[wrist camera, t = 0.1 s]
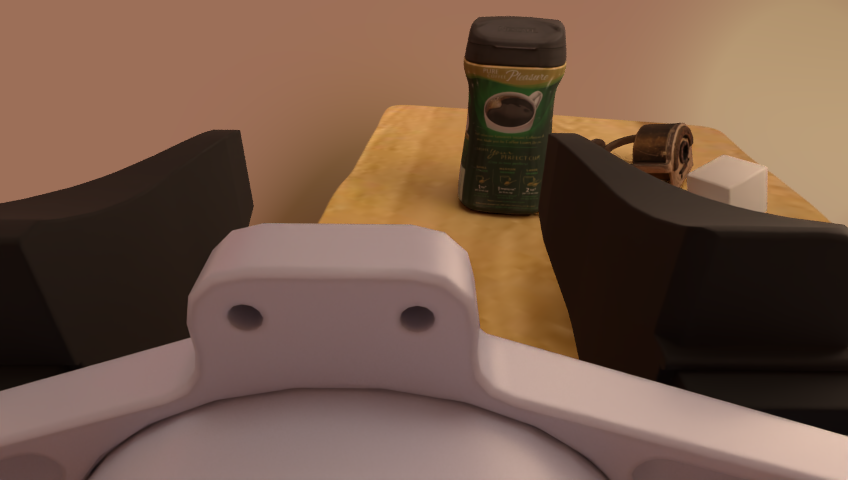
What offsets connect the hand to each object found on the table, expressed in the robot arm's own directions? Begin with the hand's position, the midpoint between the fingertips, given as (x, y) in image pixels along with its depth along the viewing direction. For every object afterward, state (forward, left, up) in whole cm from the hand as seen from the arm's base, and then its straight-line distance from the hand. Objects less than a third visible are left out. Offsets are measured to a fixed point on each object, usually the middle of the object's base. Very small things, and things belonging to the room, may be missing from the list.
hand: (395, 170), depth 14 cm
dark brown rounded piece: (+51, -27, -22) cm, 62 cm away
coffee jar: (+43, -10, -22) cm, 49 cm away
